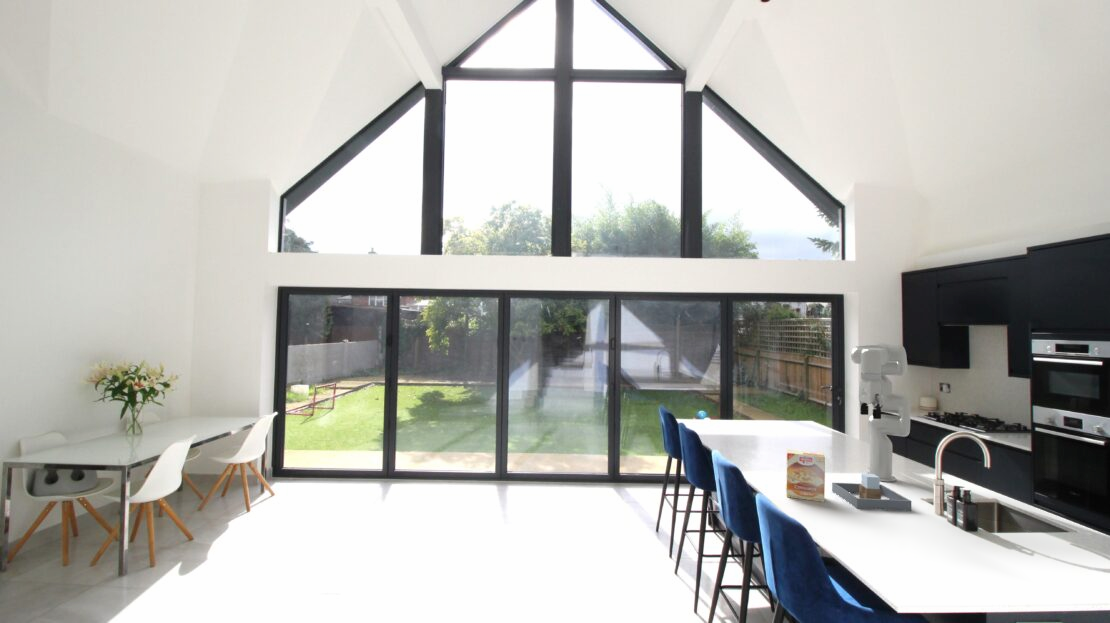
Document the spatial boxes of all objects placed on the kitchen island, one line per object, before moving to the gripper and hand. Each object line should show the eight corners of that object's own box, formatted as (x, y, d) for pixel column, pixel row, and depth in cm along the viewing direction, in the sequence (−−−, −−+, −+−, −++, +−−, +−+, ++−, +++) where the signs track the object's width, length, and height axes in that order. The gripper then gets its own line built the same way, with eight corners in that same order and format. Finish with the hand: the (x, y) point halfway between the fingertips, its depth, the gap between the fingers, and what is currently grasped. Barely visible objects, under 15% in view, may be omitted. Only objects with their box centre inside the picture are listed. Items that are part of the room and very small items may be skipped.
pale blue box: (861, 484, 226) (861, 473, 226) (873, 485, 225) (873, 474, 225) (867, 488, 221) (867, 476, 221) (879, 489, 220) (879, 477, 220)
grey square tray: (832, 491, 234) (832, 482, 234) (881, 493, 233) (881, 484, 233) (857, 508, 213) (857, 498, 213) (911, 510, 211) (911, 501, 211)
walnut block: (859, 498, 226) (859, 484, 226) (873, 498, 226) (873, 484, 226) (866, 502, 220) (866, 488, 220) (881, 503, 220) (881, 489, 220)
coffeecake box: (786, 497, 225) (786, 452, 225) (785, 492, 231) (786, 449, 232) (824, 502, 219) (825, 456, 219) (823, 497, 226) (823, 452, 226)
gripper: (851, 374, 232) (851, 412, 232) (873, 379, 215) (872, 420, 215) (868, 375, 232) (868, 413, 232) (891, 379, 215) (891, 420, 214)
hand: (870, 416), depth 223 cm, fingers open, 9 cm apart
